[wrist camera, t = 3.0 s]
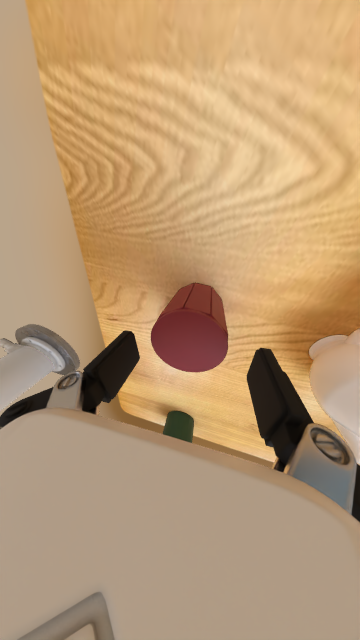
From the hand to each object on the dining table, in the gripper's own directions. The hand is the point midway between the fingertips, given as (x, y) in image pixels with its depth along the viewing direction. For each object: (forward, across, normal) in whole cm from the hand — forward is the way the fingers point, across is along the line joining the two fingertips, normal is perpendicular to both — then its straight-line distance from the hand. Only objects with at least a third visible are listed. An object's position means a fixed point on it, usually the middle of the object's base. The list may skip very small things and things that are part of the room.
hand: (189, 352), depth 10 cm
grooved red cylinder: (+9, 0, 0) cm, 9 cm away
